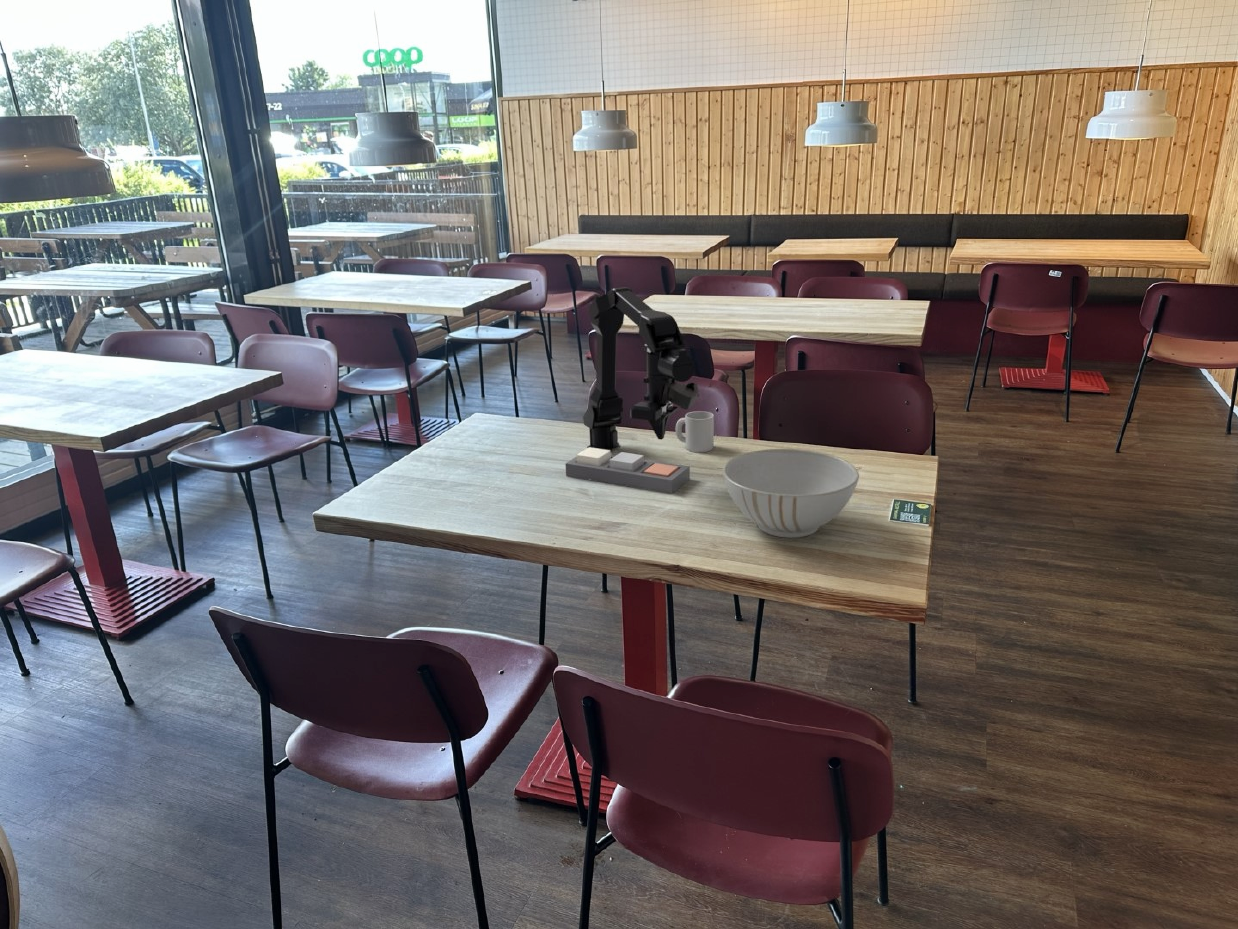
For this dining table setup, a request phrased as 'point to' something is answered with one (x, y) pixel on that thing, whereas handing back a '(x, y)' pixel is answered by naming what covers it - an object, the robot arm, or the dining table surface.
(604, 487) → the dining table surface
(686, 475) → the frame
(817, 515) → the decorative bowl
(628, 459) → the grey key
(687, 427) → the cup
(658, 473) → the terracotta key
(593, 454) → the cream key
